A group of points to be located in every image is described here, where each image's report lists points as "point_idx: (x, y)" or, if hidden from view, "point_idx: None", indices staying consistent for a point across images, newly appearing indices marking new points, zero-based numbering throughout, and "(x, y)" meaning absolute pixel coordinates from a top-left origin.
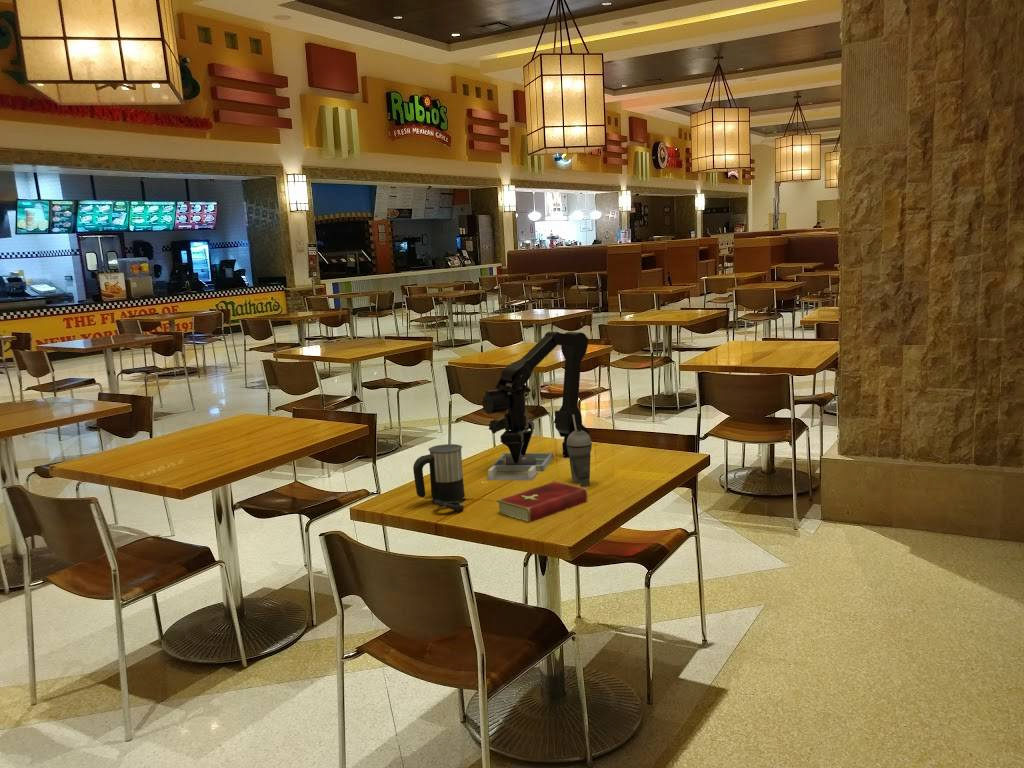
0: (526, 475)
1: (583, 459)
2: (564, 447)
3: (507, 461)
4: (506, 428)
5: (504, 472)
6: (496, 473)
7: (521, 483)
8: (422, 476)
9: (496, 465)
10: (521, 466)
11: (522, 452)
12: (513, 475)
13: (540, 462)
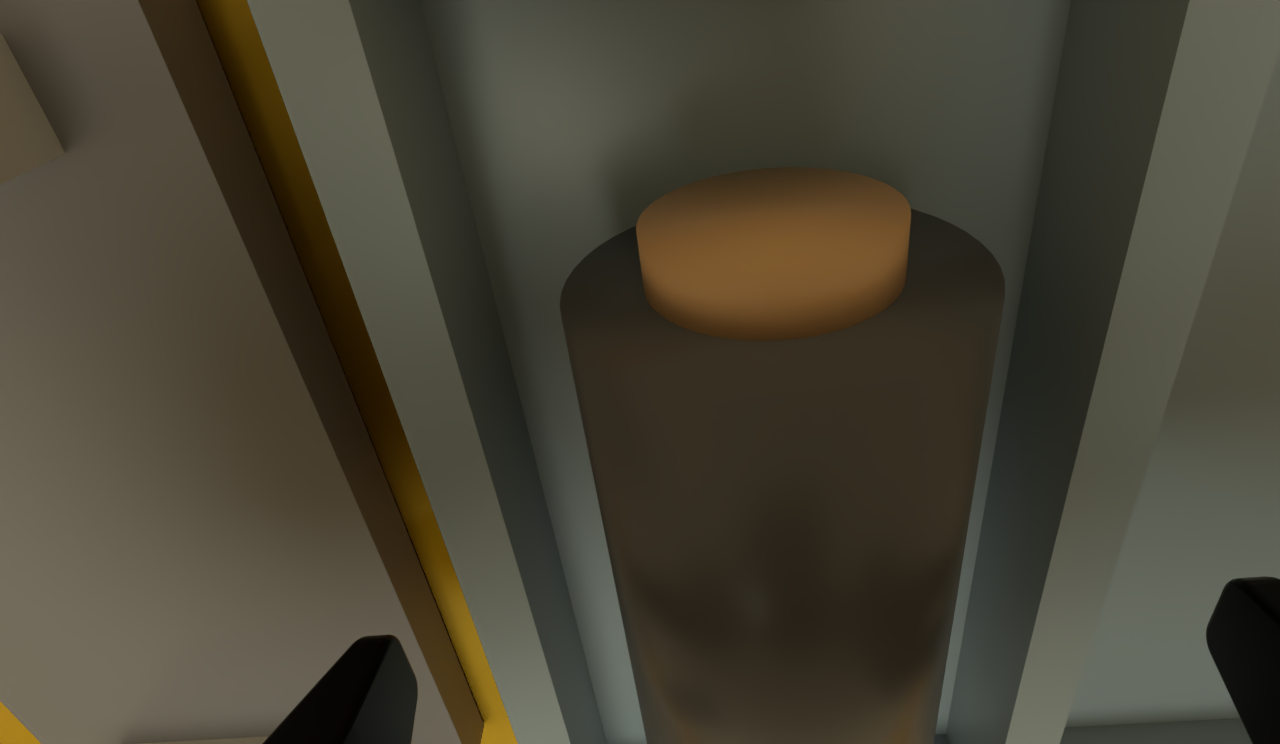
0: (263, 690)
1: None
2: None
3: (577, 385)
4: None
5: (267, 302)
6: (31, 162)
7: None
8: None
9: (329, 31)
10: (486, 645)
11: (1270, 673)
12: (156, 532)
13: (976, 736)
